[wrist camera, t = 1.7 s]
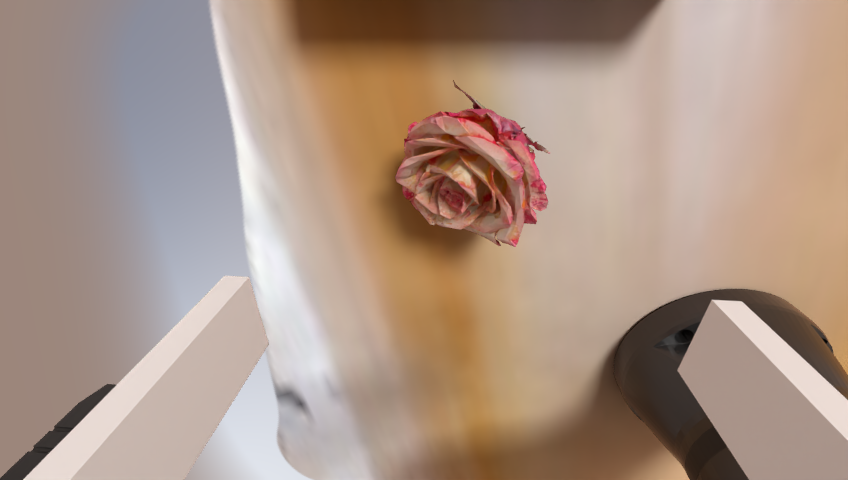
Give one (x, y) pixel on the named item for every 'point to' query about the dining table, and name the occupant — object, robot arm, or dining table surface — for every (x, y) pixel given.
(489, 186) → the flower
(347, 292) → the dining table surface
